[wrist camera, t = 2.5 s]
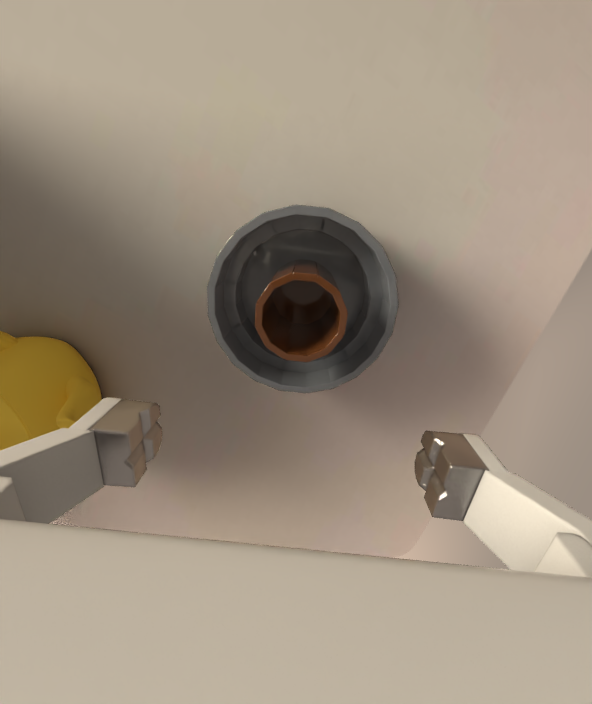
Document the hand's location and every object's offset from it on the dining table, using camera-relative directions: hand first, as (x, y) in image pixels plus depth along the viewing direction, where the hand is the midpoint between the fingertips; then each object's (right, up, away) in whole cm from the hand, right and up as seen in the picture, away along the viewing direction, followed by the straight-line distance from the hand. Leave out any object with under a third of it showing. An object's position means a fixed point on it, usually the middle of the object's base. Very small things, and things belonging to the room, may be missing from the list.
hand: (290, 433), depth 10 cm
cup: (+1, +8, +19) cm, 20 cm away
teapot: (-25, 0, +24) cm, 35 cm away
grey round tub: (+1, +8, +19) cm, 21 cm away
